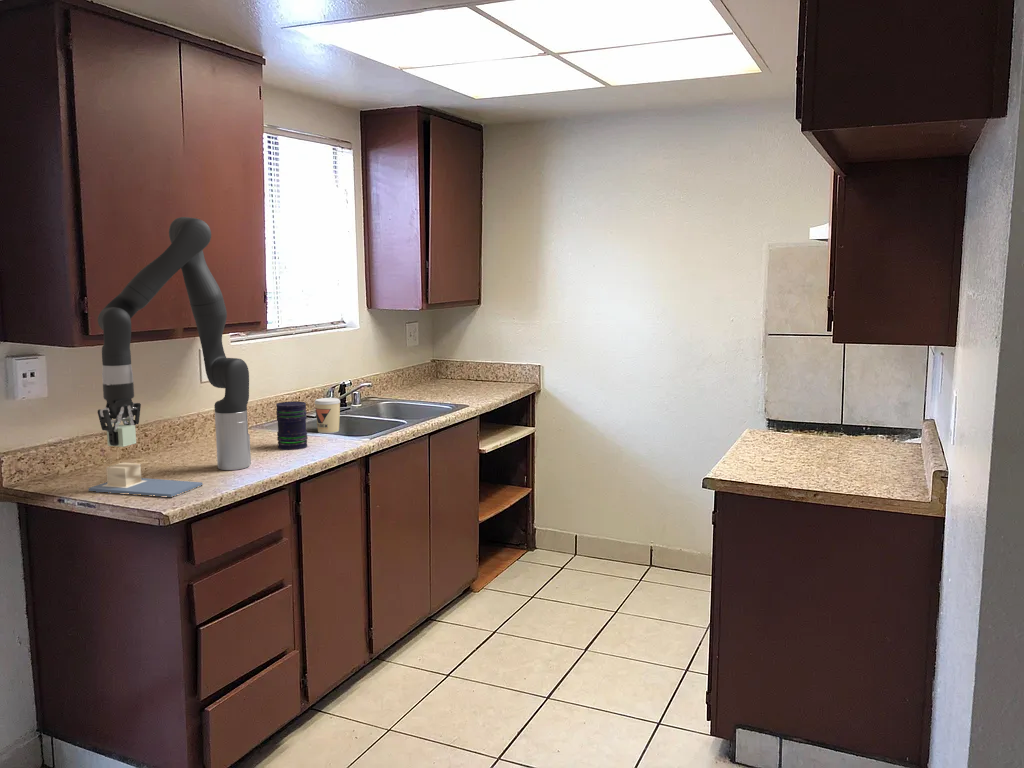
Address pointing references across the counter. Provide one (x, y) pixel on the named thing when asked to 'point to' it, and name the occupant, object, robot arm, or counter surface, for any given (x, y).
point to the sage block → (125, 435)
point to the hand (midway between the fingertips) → (121, 443)
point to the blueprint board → (150, 487)
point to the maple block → (123, 474)
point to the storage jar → (291, 425)
